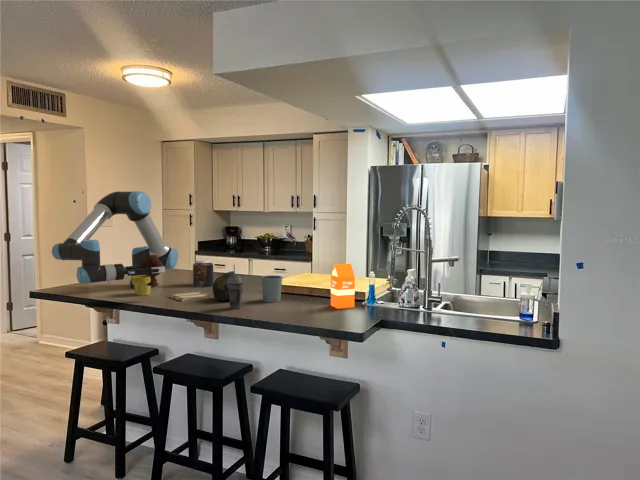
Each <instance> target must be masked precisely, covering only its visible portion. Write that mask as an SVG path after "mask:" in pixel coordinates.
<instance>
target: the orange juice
mask: <svg viewBox="0 0 640 480" xmlns="http://www.w3.org/2000/svg"><path fill="white" fill-rule="evenodd" d="M355 280H356V277H355V273H354V269H353V266H352V263H351V262H350V263H335V264H333V268H332V272H331V274H330V306H331V307H332V308H333V307H334V308H335V309H339V310H340V309H348V308H349V309H350V308H355V294H356V290H355V285H356V284H355V282H356V281H355Z"/></svg>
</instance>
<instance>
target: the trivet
mask: <svg viewBox="0 0 640 480" xmlns="http://www.w3.org/2000/svg"><path fill="white" fill-rule="evenodd" d="M169 298H172V299H174V300H178V301H179V302H188V301H195V300H204V299H210V298H211V295H210V294H209V293H204V292H202V291H199V290H195V291H190V292H188V291H187V292H182V293H170V294H169Z"/></svg>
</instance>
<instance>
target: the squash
mask: <svg viewBox="0 0 640 480" xmlns="http://www.w3.org/2000/svg"><path fill="white" fill-rule="evenodd" d="M231 275H234V270H233V271H228V272H225V273H223V274H222V275H221V276H218V277H217V278H216V279H214V284H213V286H212V294H213V297H214V298H215V299H216V300H217V301H219V302H221V301H223V302H225V301H227V300H229V291H228V286H227V281H228V278H229V277H230V276H231ZM242 295H243V293H242V294H241V296H242Z"/></svg>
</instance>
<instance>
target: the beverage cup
mask: <svg viewBox="0 0 640 480" xmlns="http://www.w3.org/2000/svg"><path fill="white" fill-rule="evenodd" d="M235 267H236V266H235V264H233V272H234V275H231V276H230V277H229V278H228V281H227V286H228V291H229V301H228V302H229V309H230V308H231V310H239V309H238V308H240V309H241V305H242V295H243V284H244V280H243V278H242V277H241V276H240V275H239V274H236V268H235ZM241 294H242V295H241Z"/></svg>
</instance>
